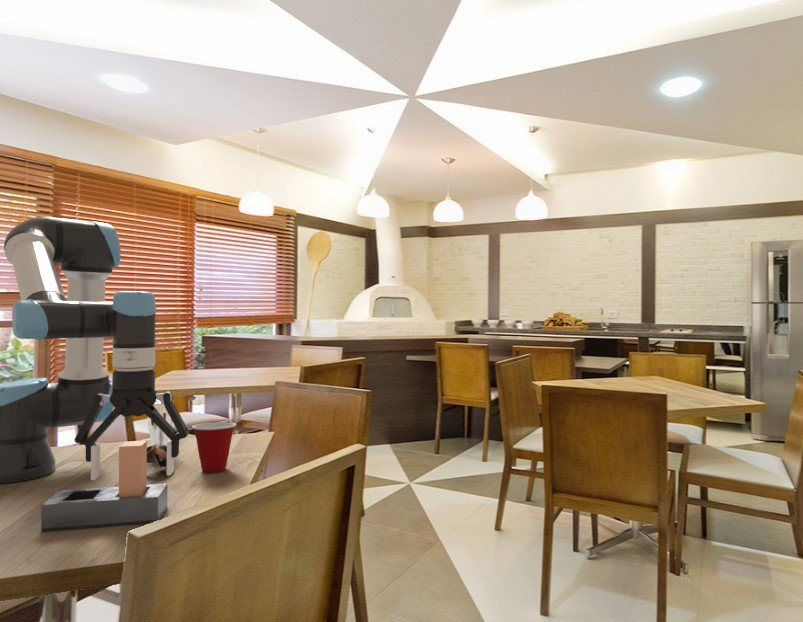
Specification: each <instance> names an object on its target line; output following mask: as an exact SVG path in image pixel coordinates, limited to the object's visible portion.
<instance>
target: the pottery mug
mask: <svg viewBox="0 0 803 622" xmlns="http://www.w3.org/2000/svg"><path fill="white" fill-rule="evenodd" d="M157 462H158V466H159V467H161V468H162V467H163V468H164V467H165V468H164V470H163V471H164V473H165V475H166V477H167V478H168V477H170V476H171V475H167V446H166V445H163V446H161V447H159V448H157V447H156V446H155V445H152V446H150V445H149V446H147V464H156V463H157ZM174 471H175V470H174ZM174 471H173V473H174Z"/></svg>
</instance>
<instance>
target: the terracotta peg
mask: <svg viewBox="0 0 803 622" xmlns="http://www.w3.org/2000/svg"><path fill="white" fill-rule="evenodd" d="M147 447H148V440H135V441H134V440H133V441H131V440H129V441H124V442H123V443H122V444H121V445H119V446H118V487H119V497H129V496H144V495H145V493H146V492H147V485H148V484H147V483H148V482H147V480H148V479H147V478H148V476H147V473H148V471H147V470H148V469H147V465H148V463H147Z"/></svg>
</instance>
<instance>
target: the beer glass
mask: <svg viewBox="0 0 803 622" xmlns="http://www.w3.org/2000/svg"><path fill="white" fill-rule="evenodd" d="M173 403H174V404H175V402H174V400H173ZM153 406H154V407H155V408H156V409H157V410H158V412H159V413H160V414H161V415H162V417H163V418H164V419H165V420H166V421H167V422H168V423H169V424H170V425H171V426H172V427H173V428H174V423H173V421H172V419H171V418H170V416H169V414H168V412H167V410H166V408H165V406H164V404H162V403H161V402H160V400H158V399H157V400H156V401H155V403H154V404H153ZM147 427H148V431H149V439H150V445H149V446H152V445H155V446H156V447H157V448H159V447H161V446H163V445H166V446H167V442H168V441H169V440H170V439H169V438H168V437H167V436H166V435H165V433H164V432H163V431H162V430H161V429H160V428H159V427H158V426H157V425H156V424H155V423H154V422H153V421H152V420H151V419H150V418H149V417H147Z"/></svg>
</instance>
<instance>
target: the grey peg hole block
mask: <svg viewBox="0 0 803 622" xmlns="http://www.w3.org/2000/svg"><path fill="white" fill-rule="evenodd" d="M40 508H41V512H40V513H41V515H40V517H41V518H40V519H41V522H40V523H41V525H40V526H41V530H40V532H41V533H44V532H45V533H47V532H57V531H59V532H60V531H70V530H81V529H82V530H84V529H85V530H86V529H94V528H95V529H96V528H109V527H120V526H133V525H134V526H135V525H146V524H148V523H149V524H152V523H151V522H154V521H157V520H159V521H160V520H161V519H162V517H163V515H164V514H165V512H166V510H167V509H168V482H167V483H153V484H147V492H146V493H145V495H144V496H129V497H119V486H105V487H92V488H91V487H89V488H88V487H87V488H73V489H60V490H58V491H57V492H56V493H55V494H54V495H52V496H51V497H50V498H48V499H47V500H46V501H44V502H43V503H42V504H41V507H40ZM46 531H47V532H46Z"/></svg>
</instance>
